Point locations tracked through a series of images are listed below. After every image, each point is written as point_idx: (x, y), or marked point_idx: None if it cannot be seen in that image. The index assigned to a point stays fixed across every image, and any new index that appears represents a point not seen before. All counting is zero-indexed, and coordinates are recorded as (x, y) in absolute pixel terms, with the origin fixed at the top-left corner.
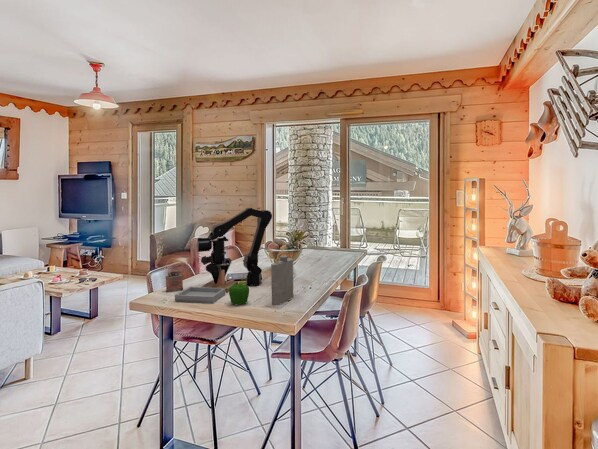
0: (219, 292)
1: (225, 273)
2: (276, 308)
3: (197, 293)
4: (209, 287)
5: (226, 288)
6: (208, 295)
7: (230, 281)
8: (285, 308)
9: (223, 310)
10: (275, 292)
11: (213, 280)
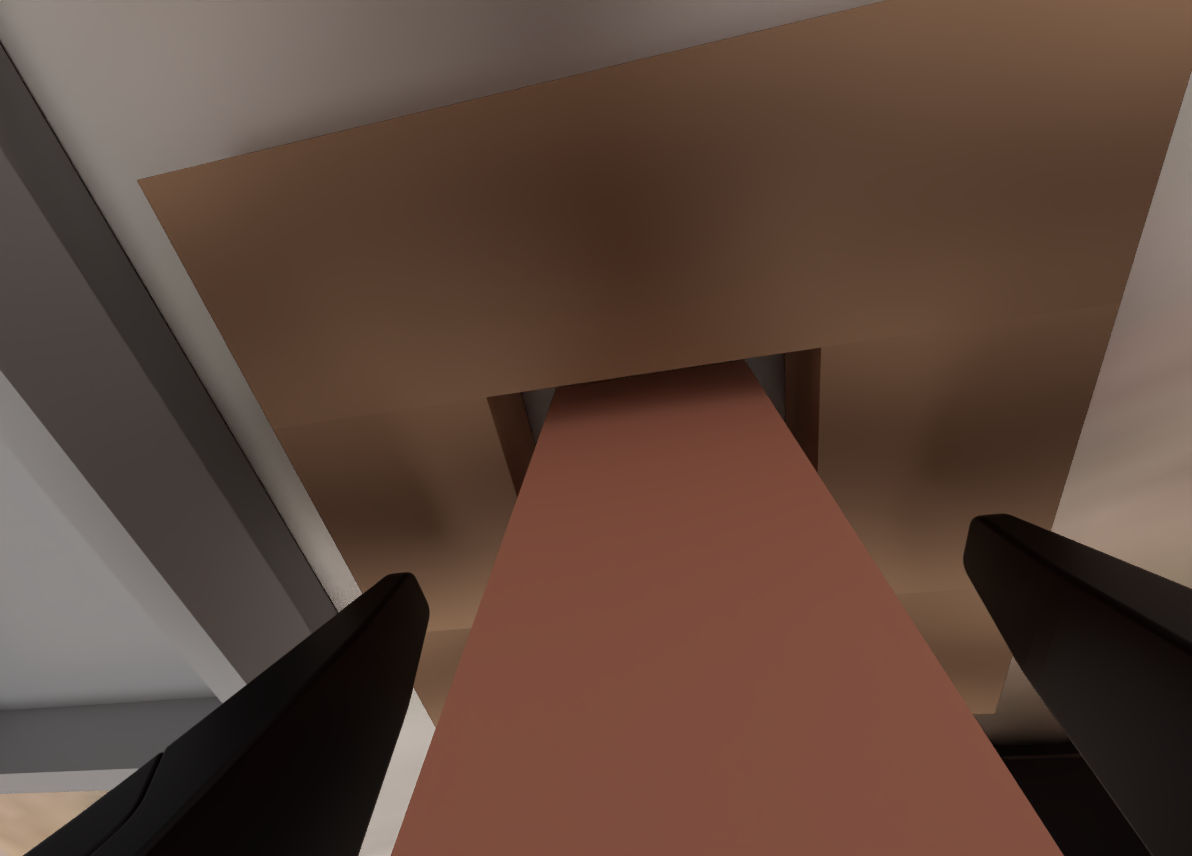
0: (105, 788)
1: (1124, 806)
2: None
3: None
4: (302, 439)
5: (434, 725)
6: (71, 587)
7: (967, 611)
8: None
9: (8, 815)
10: None
11: (1147, 37)
